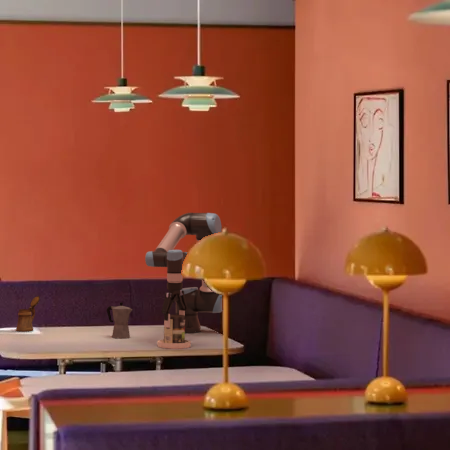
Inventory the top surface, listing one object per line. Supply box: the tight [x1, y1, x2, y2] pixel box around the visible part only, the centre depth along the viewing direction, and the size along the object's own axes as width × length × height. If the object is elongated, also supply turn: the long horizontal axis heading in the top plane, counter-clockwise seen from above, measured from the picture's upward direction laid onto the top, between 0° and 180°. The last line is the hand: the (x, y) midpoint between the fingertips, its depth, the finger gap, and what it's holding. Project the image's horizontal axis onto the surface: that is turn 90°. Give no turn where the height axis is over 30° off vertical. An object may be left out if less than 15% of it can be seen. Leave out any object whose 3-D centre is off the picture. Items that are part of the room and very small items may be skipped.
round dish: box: [157, 339, 192, 350], centre depth 581 cm, size 16×16×2 cm
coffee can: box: [163, 314, 186, 343], centre depth 581 cm, size 10×10×14 cm
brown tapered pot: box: [15, 295, 40, 333], centre depth 634 cm, size 9×14×18 cm, turn 134°
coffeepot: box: [106, 301, 133, 340], centre depth 611 cm, size 15×9×18 cm, turn 61°
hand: (174, 325), depth 581 cm, fingers open, 13 cm apart
